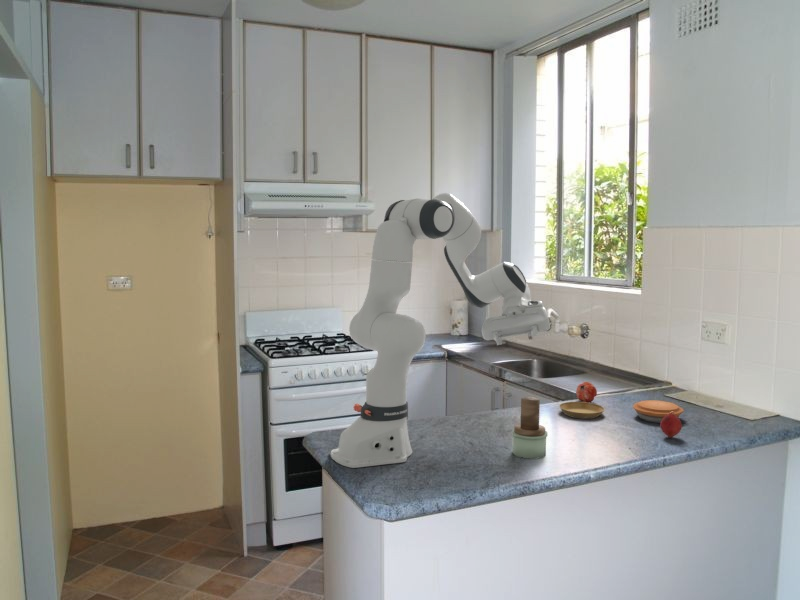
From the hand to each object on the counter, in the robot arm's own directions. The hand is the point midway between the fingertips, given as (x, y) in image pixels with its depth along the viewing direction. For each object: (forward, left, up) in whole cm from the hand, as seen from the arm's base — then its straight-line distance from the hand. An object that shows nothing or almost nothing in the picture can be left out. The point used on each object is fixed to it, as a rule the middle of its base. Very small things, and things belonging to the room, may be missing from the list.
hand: (514, 340), depth 195 cm
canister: (-4, -12, -29) cm, 32 cm away
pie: (+56, -6, -30) cm, 64 cm away
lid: (-4, -12, -23) cm, 27 cm away
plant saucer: (+38, +10, -30) cm, 49 cm away
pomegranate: (+51, +21, -30) cm, 63 cm away
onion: (+42, -22, -30) cm, 56 cm away
